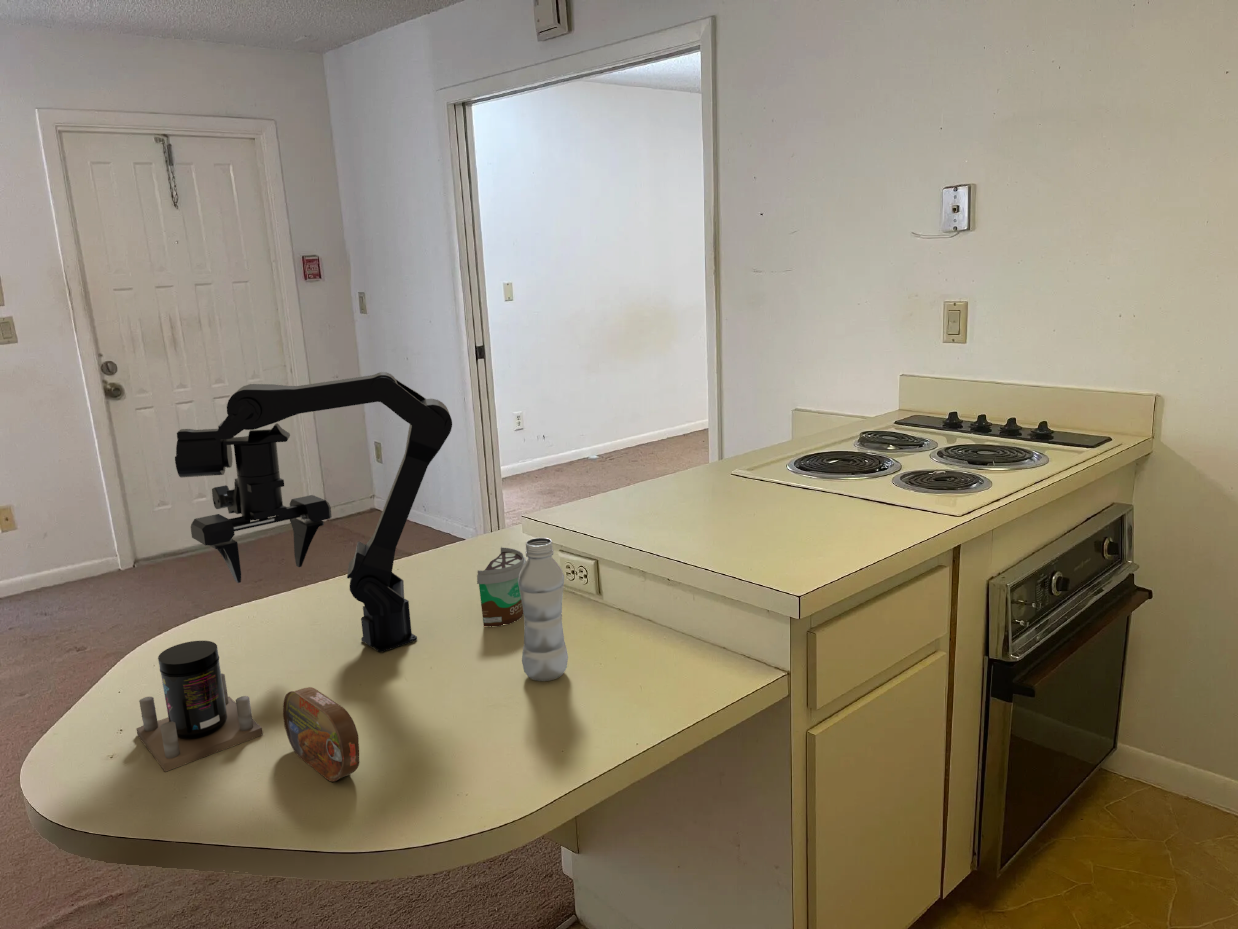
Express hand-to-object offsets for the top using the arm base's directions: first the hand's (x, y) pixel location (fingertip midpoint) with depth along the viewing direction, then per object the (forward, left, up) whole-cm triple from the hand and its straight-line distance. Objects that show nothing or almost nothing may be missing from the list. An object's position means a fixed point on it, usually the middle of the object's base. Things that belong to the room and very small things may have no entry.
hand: (269, 574), depth 133 cm
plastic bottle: (-24, +35, -13) cm, 44 cm away
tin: (+8, +33, -13) cm, 37 cm away
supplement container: (+17, +16, -12) cm, 26 cm away
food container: (-33, +14, -13) cm, 38 cm away
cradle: (+17, +16, -13) cm, 26 cm away
